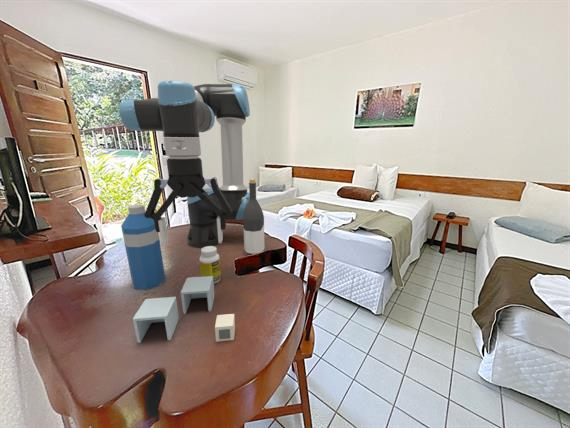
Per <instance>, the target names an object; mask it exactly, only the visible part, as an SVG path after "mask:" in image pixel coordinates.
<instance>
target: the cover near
mask: <svg viewBox="0 0 570 428" xmlns="http://www.w3.org/2000/svg"><path fill="white" fill-rule="evenodd" d="M179 320H180V315H179V308H178V302H177V297H176V296H168V297H167V296H166V297H155V298H154V297H153V298H145V299H144V301H143V302H142V304H141V306H140V307H139V308H138V310H137V312H136V313H135V314H134V316H133V318H132V321H133V328H134V333H135V338H136V342H137V344H141V343H142V340H143V339H144V337H145V335H146V333H147V332H148V329H149V328H150V326H151V324H152V323H162V322H164V325H165V331H166V337H167V341H171V340H172V337H173V335H174V334H175V333H174V332H175V331H176V327H177V326H178V323H179Z"/></svg>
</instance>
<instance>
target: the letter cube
mask: <svg viewBox="0 0 570 428" xmlns="http://www.w3.org/2000/svg"><path fill="white" fill-rule="evenodd" d="M214 324H215V326H214V333H215V334H214V335H215V342H226V341H235V333H236V332H235V331H236V322H235V313H227V314H217V315H216V320H215V323H214Z"/></svg>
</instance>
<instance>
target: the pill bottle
mask: <svg viewBox="0 0 570 428" xmlns="http://www.w3.org/2000/svg"><path fill="white" fill-rule="evenodd" d="M217 249H218V248H217V247H216V246H215V245H213V246H207V247H201V249H200V256H199V271H200V277H206V276H213V283H214V285H215V284H217V283H219V282H220V281H221V279H222V271H221V258H220V255H219V253H217V252H218V251H217Z"/></svg>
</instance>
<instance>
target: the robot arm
mask: <svg viewBox="0 0 570 428" xmlns="http://www.w3.org/2000/svg"><path fill="white" fill-rule="evenodd" d="M250 112H251V111H250V103H249V96H248V93H247V89H246V87H245V86H244V85H243V84H235V83H202V84H198V85H193V84H191V83H190V82H185V81H181V80H163V81H159V83H158V85H157V96H155V97H151V98H146V99H145V98H144V99H135V98H134V99H125V100H123V101H122V102H120V104H119V107H118V115H119V117H120V121H121V123H122V124H123V126H125V128H126V129H127V130H129V131H132V132H133V131H135V132H142V133H143V132H162V133H163V135H162V137H163V142H164V150H165V156H167V157H168V158H167V159H166V166H167V174H168V178H166V179H165V178H162V177H158V178H156V179H154V181H153V182H154V183H153V186H154V187H153V188H154V189H153V192H152V194H151V197H150V200H149V201H148V204H147V208H145V215H144V216H145V217H146V218H152V219H153V220H154V223H155V229H156V232H158V233H159V237H160V243H161V246H164V247H165V246H166V245H167V244H168V243H169V234H168V227H167V221H166V216H165V217H163V215H164V214H165V212H166V211H167V210H168V209H169V207H170V206H171V205H172V203H173V202H174V201H175V199H176V198H177V197H179V198H182V199H183V198H186V202H187V203H186V204H187V211H188V218H189V219H188V220H189V228H188V229H189V230H188V234H187V238H186V241H187V245H189V246H190V247H193V248H204V247H207V246H217V245H218V244H222V243H223V238H224V237H223V231H224V230H226V228H227V220H233V221H234V220H235V221H238V220H239V221H240V220H243V215H244V211H245V208H246V205H247V204H248V202H249V199H250V192H249V191H248V187H246V185H245V184H244V159H243V158H244V157H243V156H244V153H243V150H244V149H243V147H244V145H243V125H244V124H245V123H246V120H247V119H246V118H248V117H250V115H251V113H250ZM215 121H217V123H218V124H219V125H220V144H221V145H220V147H221V168H222V185H221V186H220V187H219V184H218V179H217V177H215V176H213V177H212V178H205V176H204V174H203V173H204V172H203V163H202V162H203V161H202V159H201V157H199V156H201V155H202V150H201V149H202V148H201V140H200V133H205V132H208V131H210V130H211V129H213V127H214V126H215V125H214V124H215ZM167 185H168V187H169V188H170V189H171V190H172V191H171V192H170V193H169V195H168V196H167V198H166V199H165V200H164V202H163V203H162V204H161V206H160V207H159V209H157V211H156V208H157V206H158V203H159V202H160V198H161V195H162V193H163V191H164V189H165V188H166V186H167ZM206 185H207V186H208V187H209V188H204V187H205V186H206ZM155 211H156V212H155Z"/></svg>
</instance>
